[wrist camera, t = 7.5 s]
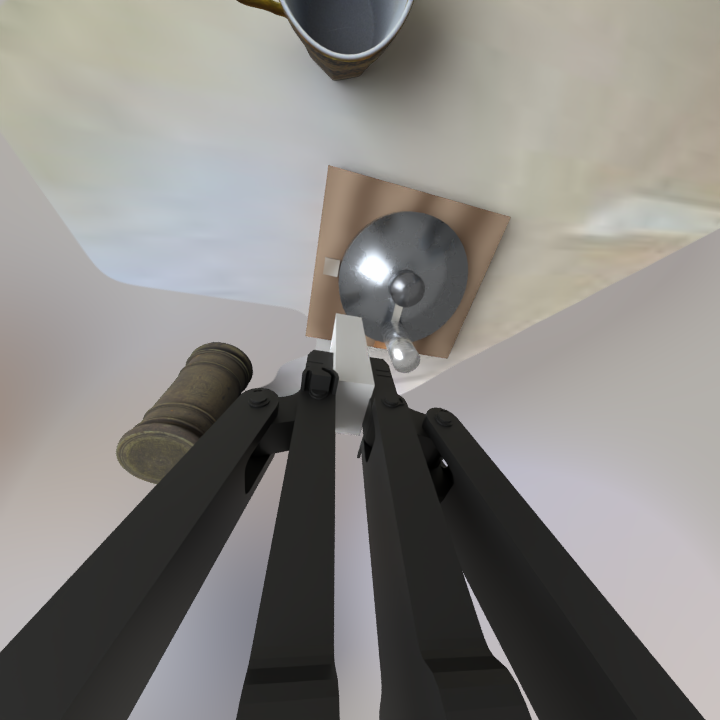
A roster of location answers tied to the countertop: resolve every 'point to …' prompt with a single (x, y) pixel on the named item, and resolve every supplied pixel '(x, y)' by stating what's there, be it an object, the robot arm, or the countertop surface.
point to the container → (185, 411)
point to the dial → (403, 281)
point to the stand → (370, 201)
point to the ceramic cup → (341, 29)
